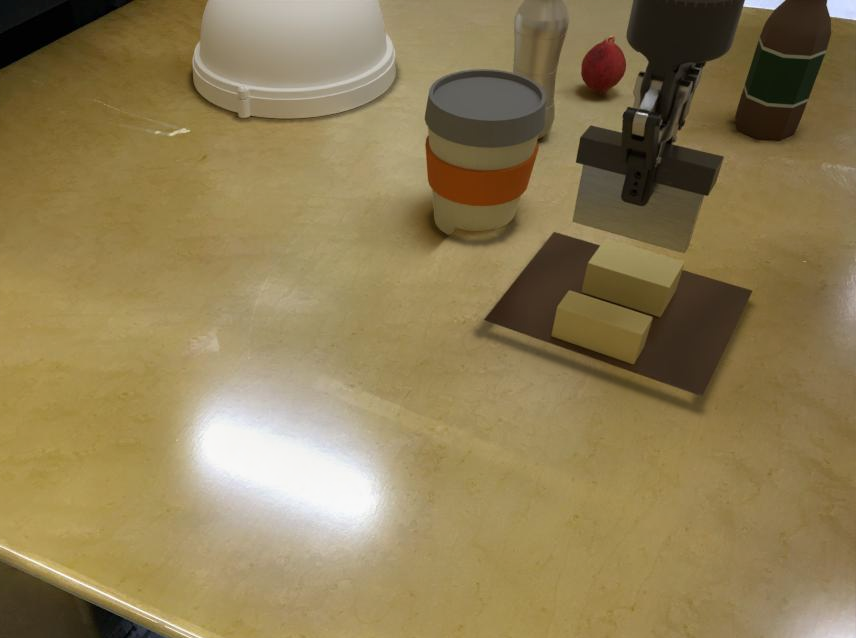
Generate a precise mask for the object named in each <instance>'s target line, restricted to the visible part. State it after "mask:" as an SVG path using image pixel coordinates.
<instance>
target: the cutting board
mask: <svg viewBox="0 0 856 638" xmlns="http://www.w3.org/2000/svg"><path fill="white" fill-rule="evenodd" d="M600 245H601V244H597V243H593V242H590V241H587V240H583V239H581V238H577V237H573V236H570V235H566V234H563V233H560V232H555V231H553V233H551V234H550V235H549V237H548V238H547V240H546V241H545V242H544V243H543V244H542V246H541V247H540V249H538V251H537V252H536V254H535V255H534V256H533V257H532V259H531V260H530V261H529V262H528V264H526V266H525V267H524V269H523V270H522V271H521V273H519V275H518V276H517V277H516V278H515V280H514V281H513V282H512V284H511V285H510V286H509V287H508V289H507V290H506V291H505V293H503V295H502V296H501V298H500V299H499V300H498V301H497V302H496V304H495V305H494V306H493V308H492V309H491V310H490V312H489V313H488V314H487V315H486V316H485V318H484V319H483V321H485V322H488V323H491V324H494V325H496V326H498V327H499V326H500V327H502V328H505V329H508V330H511V331H514V332H517V333H519V334H523V335H525V336H528V337H531V338H534V339H537V340H539V341H543V342H544V343H547V344H551V345H553V346H556V347H559V348H562V349H565V350H568V351H571V352H573V353H577V354H579V355H582V356H585V357H587V358H590V359H594V360H597V361H599V362H602V363H606V364H608V365H611V366H614V367H617V368H620V369H623V370H625V371H628V372H631V373H634V374H637V375H640V376H641V377H642V376H643V377H645V378H649V379H651V380H654V381H657V382H660V383H662V384H665V385H668V386H671V387H674V388H677V389H679V390H682V391H685V392H688V393H691V394H694V395H696V396H700V397H703V396H704V394H705V391H706V389H707V388H708V385H709V383H710V381H711V379H712V377H713V375H714V372H715V371H716V368H717V366H718V364H719V362H720V360H721V358H722V356H723V354H724V352H725V350H726V348H727V346H728V343H729V342H730V339H731V337H732V335H733V334H734V331H735V329H736V326H737V325H738V323H739V320H740V319H741V317H742V314H743V312H744V310H745V309H746V306H747V304H748V302H749V299H750V297H751V295H752V293H753V290H752V289H750V288H746V287H742V286H739V285H735V284H732V283H729V282H725V281H722V280H718V279H716V278H711V277H708V276H705V275H701V274H698V273H695V272H691V271H689V270H688V271H687V270H685V269H683V270H682V273H681V276H680V279H679V282H678V286H677V289H676V291H675V293H674V295H673V297H672V298H671V300H670V302H669V304H668V305H667V307H666V309H665V310H664V312H663V314H662V316H661V317H658V316H654V315H651V314H648V313H645V312H642V311H639V310H636V309H633V308H629V307H626V306H623V305H620V304H617V303H614V302H611V301H608V300H605V299H601V298H598V297H595V296H592V295H589V294H586V293H583V292H582V287H583V283H584V278H585V274H586V269H587V265H588V262H589V261H590V259H591V258H592V256H593V255H594V254H595V252H596V251H597V249H598V248H599V247H600ZM569 290H570V291H573V292H577V293H580V294H583V295H586V296H589V297H592V298H595V299H598V300H601V301H605V302H608V303H611V304H614V305H617V306H620V307H623V308H626V309H629V310H633V311H636V312H639V313H642V314H645V315H648V316H651V317H653V319H652V322H651V326H650V329H649V332H648V336H647V339H646V342H645V346H644V348H643V350H642V351H641V353H640V355H639V357H638V358H637V360H636V362H635V363H634V364H630V363H627V362H624V361H621V360H619V359H616V358H613V357H610V356H607V355H604V354H601V353H598V352H595V351H593V350H590V349H587V348H584V347H581V346H578V345H575V344H572V343H569V342H567V341H564V340H561V339H558V338H555V337H552V336H551V335H552V330H553V325H554V320H555V315H556V310H557V306H558V305H559V304H560V302H561V301H562V299H563V298H564V297H565V295H566V294H567V292H568V291H569Z"/></svg>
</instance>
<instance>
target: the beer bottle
mask: <svg viewBox="0 0 856 638" xmlns="http://www.w3.org/2000/svg"><path fill="white" fill-rule="evenodd" d="M831 36H832V19H831V15H830V11H829V8H828V0H784V1H783V2H781V3H780V4H779V5H777V7H776V8H775V9H774V10H773V11H772V12H771V14H769V17H768V18H767V19H766V21H765V22H764V25H763V27H762V30H761V33H760V35H759V38H758V41H757V44H756V48H755V51H754V53H753V57H752V60H751V63H750V66H749V69H748V73H747V75H746V80H745V82H744V85H743V89H742V91H741V94H740V98H739V101H738V105H737V109H736V112H735V117H734V118H735V123H736V127H737V131H739V132H741V133H743V134H745V135H747V136H750V137H751V138H754V139H756V140H771V141H780V140H783V139H785V138H787V137H789V136H792V135H794V134H795V133H796V132H797V129H798V127H799V125H800V123H801V120H802V117H803V115H804V113H805V109H806V107H807V105H808V101H809V99H810V96H811V93H812V91H813V88H814V86H815V82H816V81H817V77H818V74H819V71H820V69H821V66H822V64H823V61H824V59H825V56H826V53H827V50H828V46H829V43H830V39H831Z"/></svg>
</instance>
